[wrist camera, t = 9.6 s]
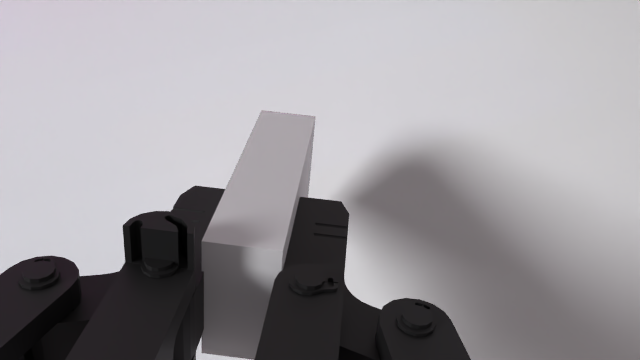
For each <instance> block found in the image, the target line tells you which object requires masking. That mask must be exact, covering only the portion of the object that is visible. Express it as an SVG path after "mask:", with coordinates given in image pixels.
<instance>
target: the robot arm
mask: <svg viewBox="0 0 640 360" xmlns="http://www.w3.org/2000/svg"><path fill="white" fill-rule="evenodd" d="M314 126H315V116H307V115H298V114H289V113H280V112H272V111H263V110H262V111H261V113H260V115H259V117H258V119H257V122H256V124H255V126H254V128H253V130H252V132H251V135H250V137H249V139H248V141H247V143H246V146H245V148H244V150H243V152H242V154H241V156H240V159H239V161H238V163H237V165H236V167H235V169H234V172H233V174H232V176H231V178H230V180H229V182H228V185H227V187H226V189H218V188H210V187H201V186H194V187H192V188H191V189H189V190H188V191H186V192H185V193H183V194H181V195H180V197H179V198H178V200H177V202H176V203H175V205H174V207H173V210H171V212H169V211H154V212H148V213H143V214H140V215H138V216H135V217H133V218H131V219H129V220H128V221H127V222H126V223H125V224H124V225H123V236H124V249H125V264H124V265H123V267H122V269H121V270H120V271H119V272H115V273H110V274H103V275H92V276H80V277H79V269H78V268H77V266H76V265H75V263H74V262H72V261H70V260H68V259H66V258H63V257H56V256H42V257H35V258H31V259H28V260H24V261H21V262H19V263H18V264H16V265H14V266H12V267H10V268H9V269H7V270H6V271H5V272H3V273H2V274H0V360H196V349H197V346H198V344H199V341H200V338H201V336H202V353H207V354H215V355H222V356H230V357H238V358H246V359H254V360H471V359H470V357H469V355H468V353H467V351H466V349H465V347H464V345H463V343H462V341H461V339H460V337H459V335H458V333H457V331H456V329H455V327H454V325H453V323H452V321H451V320H450V318H449V317H448V316H447V315H446V313H445V312H444V311H442V310H441V309H439V308H438V307H436V306H435V305H433V304H431V303H428V302H425V301H422V300H420V299H409V298H404V299H398V300H393V301H391V302H390V303H388V304H386V305H384V307H383V308H382V310H381V309H378V308H375V307H372V306H370V305H368V304H366V303H363V302H361V301H360V300H359V299H357V298H356V297H354V296H353V295H352V294H351V293H350V292H349V290H348V289H347V287H346V285H345V282H344V270H345V258H346V245H347V233H348V221H349V213H348V211H347V210H346V208H345V207H344V205H343V204H342V202H340V201H332V200H323V199H315V198H308V192H309V181H310V170H311V159H312V148H313V137H314Z"/></svg>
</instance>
